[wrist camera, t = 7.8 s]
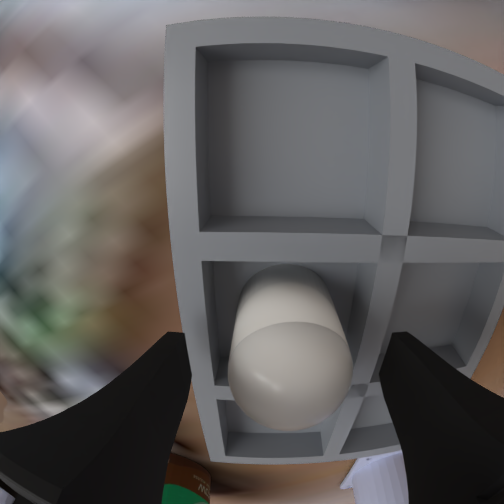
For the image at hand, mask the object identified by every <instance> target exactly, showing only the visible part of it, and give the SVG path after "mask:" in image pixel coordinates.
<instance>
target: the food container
mask: <svg viewBox="0 0 504 504" xmlns="http://www.w3.org/2000/svg"><path fill="white" fill-rule="evenodd" d="M210 487H211V476H210V473H209V472H208V471H207V470H206V469H205V468H204V467H202V466H201V465H199V464H197V463H195V462H193V461H191V460H189V459H187V458H185V457H182V456H179V455H177V454H174V453H170V456H169V461H168V466H167V471H166V477H165V483H164V489H163V496H162V504H210Z"/></svg>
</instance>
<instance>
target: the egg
mask: <svg viewBox="0 0 504 504" xmlns="http://www.w3.org/2000/svg"><path fill="white" fill-rule="evenodd" d="M352 377H353V361H352V356H351V352H350V349H349V346H348V343H347V340H346V337H345V334H344V332H343V329H342V326H341V323H340V320H339V318H338V315H337V312H336V309H335V306H334V304H333V301H332V298H331V296H330V293H329V290H328V288H327V286H326V284H325V282H324V281H323V280H322V279H321V277H319V276H318V275H317V274H316V273H315V272H313V271H312V270H310V269H308V268H305V267H302V266H299V265H294V264H279V265H274V266H270V267H267V268H265V269H263V270H261V271H259V272H257V273H256V274H255V275H253V276H252V277H251V278H250V279H249V280H248V281H247V282H246V284H245V285H244V287H243V289H242V290H241V293H240V296H239V301H238V307H237V313H236V319H235V325H234V331H233V337H232V344H231V350H230V356H229V362H228V382H229V387H230V390H231V393H232V396H233V398H234V400H235V401H236V403H237V405H238V406H239V407H240V409H241V410H242V411H243V412H244V413H245V414H246V415H247V416H248V417H249V418H251V419H252V420H253V421H255V422H257V423H258V424H260V425H263V426H265V427H267V428H270V429H274V430H280V431H297V430H303V429H307V428H310V427H313V426H315V425H317V424H319V423H321V422H323V421H324V420H326V419H327V418H329V417H330V416H331V415H332V414H333V413H334V412H335V411H336V410H337V409H338V408H339V407H340V406H341V404H342V403H343V401H344V399H345V398H346V396H347V394H348V392H349V389H350V386H351V382H352Z"/></svg>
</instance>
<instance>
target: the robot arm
mask: <svg viewBox="0 0 504 504" xmlns="http://www.w3.org/2000/svg"><path fill="white" fill-rule="evenodd" d="M191 378H192V372H191V366H190V361H189V355H188V350H187V344H186V338H185V333H179V332H167V333H166V334H165V335H164V336H162V337H161V338H160V339H159V340H158V341H157V342H156V343H155V344H154V345H153V346H152V347H151V348H150V349H149V350H147V351H146V352H145V353H144V354H143V355H142V356H141V357H140V358H139V359H138V360H137V361H135V362H134V363H133V364H132V365H131V366H130V367H129V368H127V369H126V370H125V371H124V372H123V373H121V374H120V375H119V376H118V377H116V378H115V379H114V380H113V381H111V382H110V383H109V384H107V385H106V386H105V387H103V388H102V389H100V390H99V391H98V392H96V393H94V394H93V395H91V396H90V397H88V398H87V399H85V400H83V401H82V402H80V403H78V404H76V405H74V406H72V407H70V408H68V409H66V410H65V411H63V412H61V413H59V414H56V415H54V416H52V417H49V418H47V419H45V420H42V421H39V422H37V423H34V424H31V425H28V426H25V427H21V428H17V429H13V430H9V431H5V432H0V479H1V480H2V481H3V482H5V483H6V484H7V485H8V486H9V487H11V488H12V489H13V490H14V491H16V492H17V493H18V494H17V496H16V498H14V497H13V496H11V495H10V494H9V493H7V492H6V491H5V490H3V489H2V488H0V504H162V496H163V489H164V483H165V477H166V471H167V466H168V461H169V456H170V453H171V449H172V446H173V443H174V440H175V437H176V433H177V430H178V427H179V424H180V421H181V418H182V415H183V412H184V409H185V406H186V403H187V400H188V395H189V390H190V384H191ZM379 378H380V383H381V388H382V392H383V397H384V400H385V403H386V405H387V408H388V411H389V414H390V417H391V420H392V422H393V425H394V428H395V431H396V434H397V437H398V440H399V443H400V446H401V450H399V451H394V452H390V453H385V454H379V455H374V456H368V457H362V458H357V460H356V461H355V463H354V465H353V466H352V468H351V470H350V471H349V473H348V474H347V476H346V477H345V479H344V480H343V482H342V483H341V485H340V489H348V488H353V492H354V498H355V504H504V398H503V397H501V396H499V395H497V394H495V393H493V392H491V391H489V390H488V389H486V388H484V387H482V386H481V385H479V384H477V383H476V382H474V381H473V380H471V379H470V378H468V377H467V376H465V375H464V374H462V373H461V372H460V371H458V370H457V369H455V368H454V367H453V366H451V365H450V364H449V363H447V362H446V361H445V360H444V359H442V358H441V357H440V356H439V355H437V354H436V353H435V352H433V351H432V350H431V349H430V348H428V347H427V346H426V345H425V344H423V343H422V342H421V341H419V340H418V339H417V338H416V337H414V336H413V335H411V334H410V333H408V332H407V331H404V332H393V333H392V335H391V338H390V341H389V344H388V347H387V351H386V354H385V357H384V360H383V362H382V365H381V368H380V371H379Z"/></svg>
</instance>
